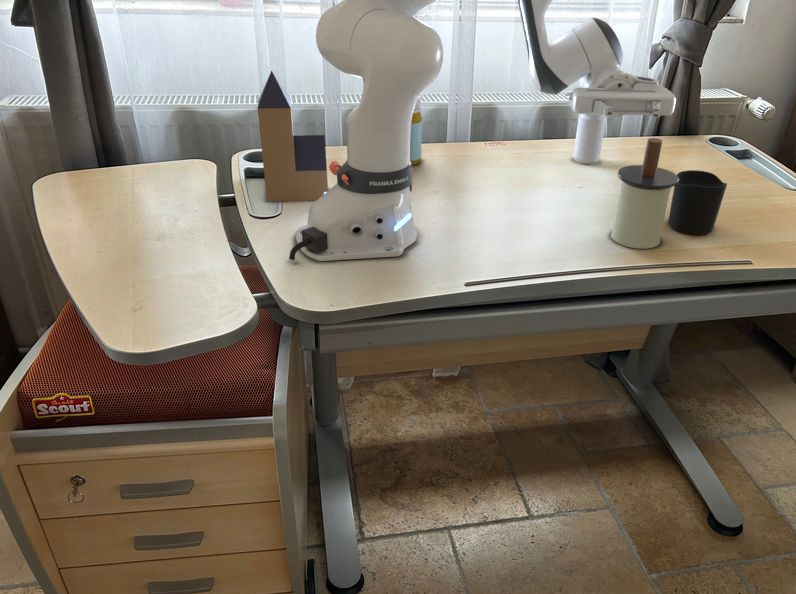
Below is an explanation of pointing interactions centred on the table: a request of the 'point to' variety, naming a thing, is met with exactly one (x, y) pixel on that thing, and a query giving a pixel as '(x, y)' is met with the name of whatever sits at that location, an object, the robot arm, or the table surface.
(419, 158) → the bottle
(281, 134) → the toy building blocks
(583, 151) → the beverage can
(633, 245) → the can
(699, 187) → the pen holder
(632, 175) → the lid
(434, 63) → the robot arm
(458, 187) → the table surface
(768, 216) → the table surface
